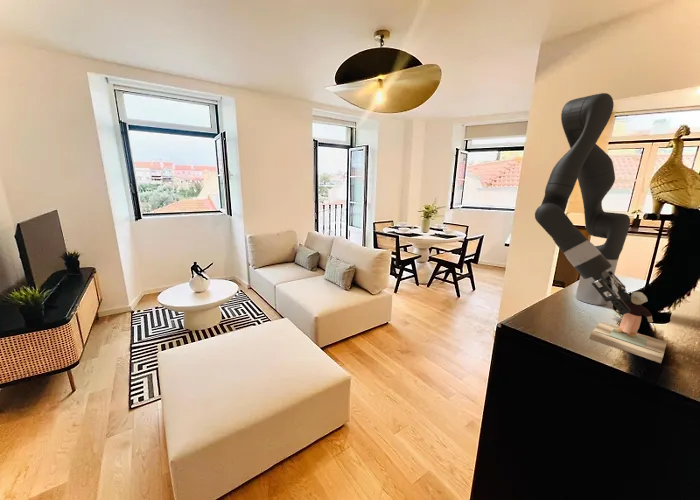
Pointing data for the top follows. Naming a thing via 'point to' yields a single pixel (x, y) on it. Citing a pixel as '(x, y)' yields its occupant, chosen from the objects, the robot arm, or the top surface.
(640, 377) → the top surface
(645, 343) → the oak board
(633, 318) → the grandmother figurine
